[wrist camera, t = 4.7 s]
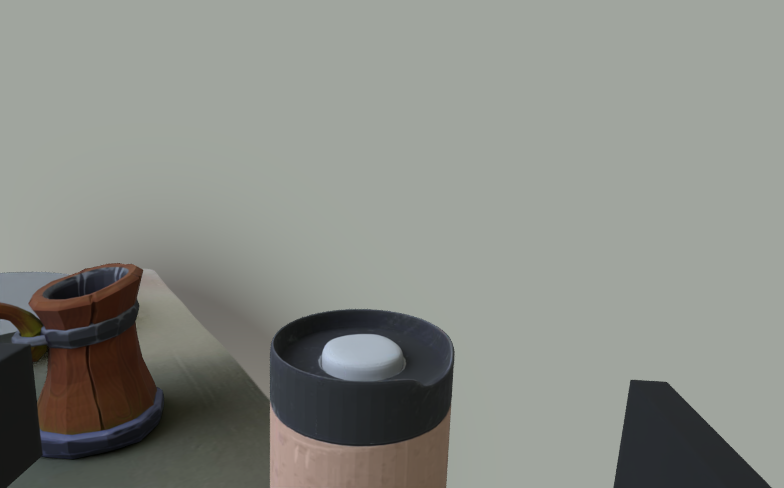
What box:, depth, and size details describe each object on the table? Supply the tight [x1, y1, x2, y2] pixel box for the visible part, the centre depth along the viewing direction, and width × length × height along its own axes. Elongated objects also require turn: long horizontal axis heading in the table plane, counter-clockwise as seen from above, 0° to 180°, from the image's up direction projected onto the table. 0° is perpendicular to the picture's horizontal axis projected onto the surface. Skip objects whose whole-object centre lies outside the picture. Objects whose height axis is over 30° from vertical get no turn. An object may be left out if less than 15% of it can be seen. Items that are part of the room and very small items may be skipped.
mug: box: [0, 263, 164, 459], centre depth 46 cm, size 18×12×15 cm, turn 125°
